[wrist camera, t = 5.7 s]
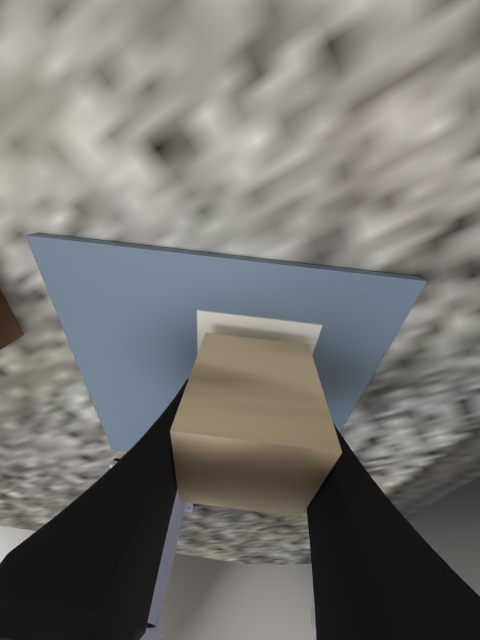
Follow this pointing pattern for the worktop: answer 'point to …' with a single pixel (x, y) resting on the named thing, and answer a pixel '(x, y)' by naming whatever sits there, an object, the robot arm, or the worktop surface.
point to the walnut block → (7, 324)
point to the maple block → (253, 427)
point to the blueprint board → (209, 319)
